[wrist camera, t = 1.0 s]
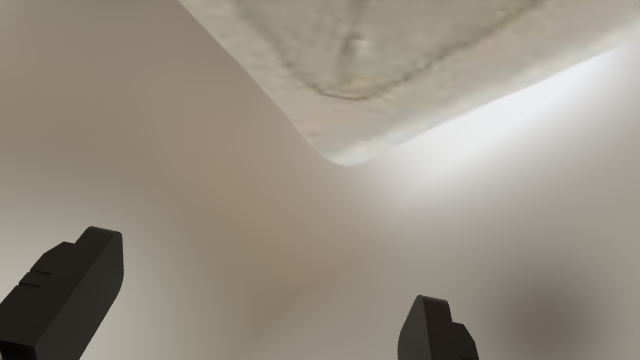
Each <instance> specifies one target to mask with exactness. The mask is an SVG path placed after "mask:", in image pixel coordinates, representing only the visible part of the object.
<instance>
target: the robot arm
mask: <svg viewBox="0 0 640 360" xmlns="http://www.w3.org/2000/svg"><path fill="white" fill-rule="evenodd" d="M122 244H123V243H122V234H121V233H120V232H117V231H112V230H108V229H102V228H98V227H93V226H90V227H88V228H87V229H86V230H85V231H84V233H83V234H82V235H81V236H80V238H79V239H78V240H77V241H76V243H75V244H74V243H69V242H62V243H60V244H59V245H57V246H56V247H54V248H52V249H51V250H49V251H47V252H46V253H44V254H43V255H42V256H41V257H40V259H39V260H38V261H37V262H36V263H35V264H34V265H33V267H32V268H31V269H30V272H27V274H26V275H25V276H24V277H23V278H22V279H21V280H20V282H19V285H18V286H17V285H16V286H15V287H14V289H13V290H12V291H11V292H10V293H9V295H8V296H7V297H6V298H5V299H4V300H3V301H2V302H1V304H0V360H79V359H80V357H81V356H82V354H83V352H84V351H85V349H86V347H87V345H88V344H89V342H90V341H91V339H92V337H93V336H94V334H95V332H96V331H97V329H98V327H99V326H100V324H101V322H102V320H103V319H104V317H105V315H106V314H107V312H108V310H109V308H110V307H111V305H112V304H113V302H114V300H115V299H116V297H117V295H118V293H119V291H120V288H121V285H122V281H123V276H124V268H123V267H124V266H123V245H122ZM398 360H479V357H478V353H477V349H476V345H475V341H474V340H473V338H472V337H471V336H470V334H469V332H468V331H467V329H466V328H465V326H464V325H463V324H460V323H455V322H452V318H451V313H450V308H449V304H448V302H447V301H446V300H441V299H437V298H432V297H427V296H423V295H418V296H417V297H416V299H415V301H414V303H413V306H412V308H411V310H410V312H409V314H408V316H407V319H406V321H405V323H404V325H403V327H402V329H401V332H400V336H399V341H398Z"/></svg>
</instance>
